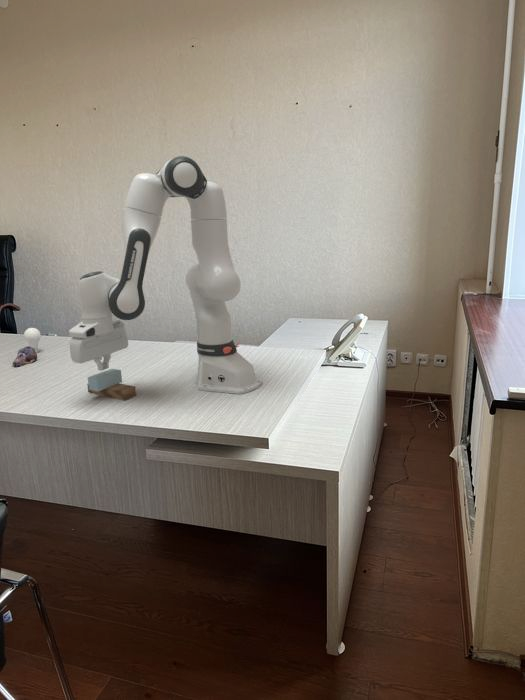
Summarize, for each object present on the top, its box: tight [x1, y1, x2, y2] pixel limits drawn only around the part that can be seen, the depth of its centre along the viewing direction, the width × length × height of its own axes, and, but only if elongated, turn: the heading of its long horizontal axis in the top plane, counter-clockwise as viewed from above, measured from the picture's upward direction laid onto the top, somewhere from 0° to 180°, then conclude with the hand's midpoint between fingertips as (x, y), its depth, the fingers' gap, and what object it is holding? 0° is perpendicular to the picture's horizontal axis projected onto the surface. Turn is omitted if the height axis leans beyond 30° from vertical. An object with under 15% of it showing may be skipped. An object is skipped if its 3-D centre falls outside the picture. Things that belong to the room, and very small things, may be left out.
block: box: [87, 368, 123, 391], centre depth 167 cm, size 4×4×10 cm
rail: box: [86, 383, 137, 402], centre depth 168 cm, size 16×5×3 cm, turn 59°
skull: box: [12, 345, 38, 368], centre depth 204 cm, size 12×8×6 cm, turn 165°
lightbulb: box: [23, 327, 42, 353], centre depth 217 cm, size 6×6×11 cm
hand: (103, 369), depth 165 cm, fingers closed
